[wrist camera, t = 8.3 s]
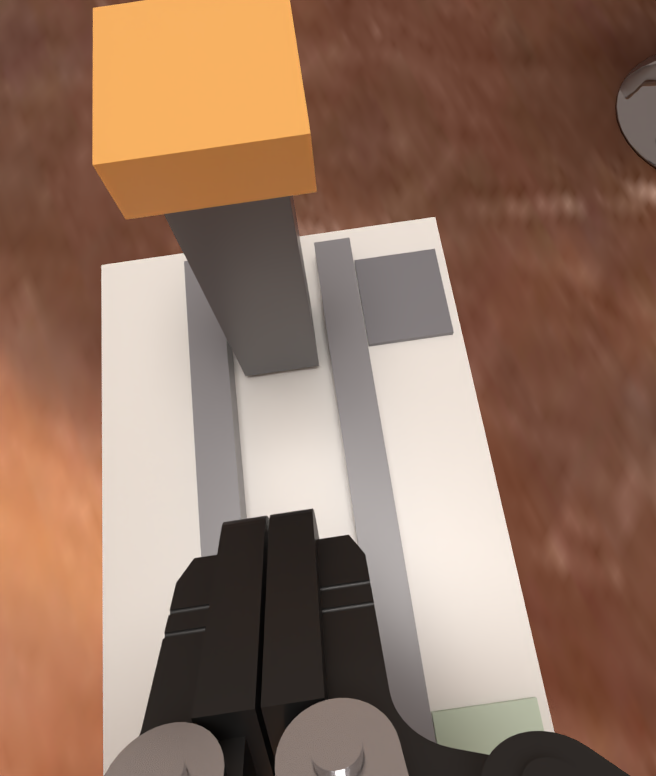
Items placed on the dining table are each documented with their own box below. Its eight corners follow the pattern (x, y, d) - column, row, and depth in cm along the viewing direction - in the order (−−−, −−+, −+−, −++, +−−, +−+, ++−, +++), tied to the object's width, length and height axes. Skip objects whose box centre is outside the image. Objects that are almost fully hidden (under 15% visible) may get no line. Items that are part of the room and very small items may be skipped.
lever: (231, 393, 19) (92, 165, 9) (223, 299, 20) (93, 8, 10) (336, 377, 19) (310, 133, 9) (322, 284, 20) (286, -21, 10)
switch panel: (126, 941, 16) (86, 999, 14) (117, 286, 23) (89, 249, 21) (573, 879, 16) (610, 925, 14) (430, 241, 23) (438, 199, 21)
